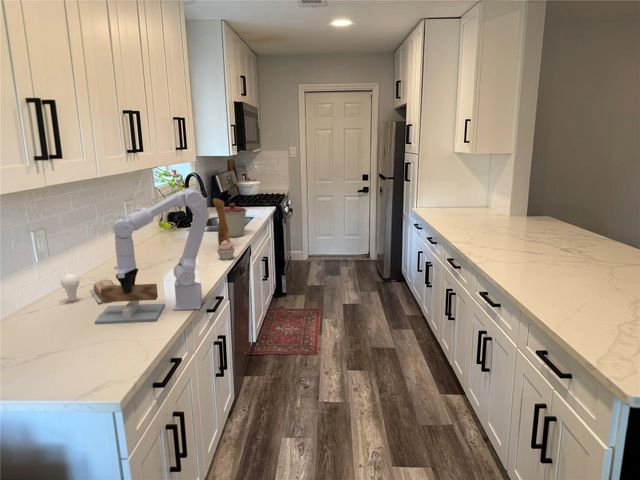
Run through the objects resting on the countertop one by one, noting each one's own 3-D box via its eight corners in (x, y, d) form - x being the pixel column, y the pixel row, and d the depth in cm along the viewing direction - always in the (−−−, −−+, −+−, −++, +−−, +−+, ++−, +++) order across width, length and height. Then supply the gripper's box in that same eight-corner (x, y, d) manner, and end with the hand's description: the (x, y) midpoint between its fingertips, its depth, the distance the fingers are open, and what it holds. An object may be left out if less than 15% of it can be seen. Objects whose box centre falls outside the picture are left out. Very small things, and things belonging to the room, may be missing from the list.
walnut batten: (157, 296, 157) (156, 283, 156) (155, 300, 154) (154, 286, 153) (104, 299, 155) (103, 285, 153) (101, 302, 152) (100, 288, 150)
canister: (233, 240, 267) (232, 206, 262) (212, 236, 276) (211, 203, 271) (253, 235, 281) (252, 202, 277) (233, 231, 291) (231, 200, 286)
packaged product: (125, 288, 170) (97, 293, 164) (126, 300, 171) (98, 305, 165) (115, 276, 184) (88, 281, 178) (116, 287, 185) (90, 292, 179)
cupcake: (237, 256, 231) (236, 238, 229) (232, 261, 222) (231, 242, 220) (220, 256, 232) (219, 237, 230) (214, 261, 223) (213, 241, 221)
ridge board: (164, 305, 164) (164, 295, 163) (156, 321, 150) (155, 310, 149) (108, 308, 161) (107, 298, 160) (95, 324, 148) (93, 313, 147)
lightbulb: (78, 303, 165) (74, 276, 163) (61, 304, 164) (57, 277, 162) (84, 298, 171) (80, 271, 169) (67, 298, 170) (63, 272, 168)
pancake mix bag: (220, 251, 240) (217, 201, 234) (214, 244, 258) (212, 196, 251) (232, 250, 243) (230, 200, 236) (226, 243, 260) (224, 196, 254)
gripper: (119, 249, 157) (123, 284, 160) (106, 260, 143) (110, 299, 146) (140, 248, 158) (143, 284, 161) (128, 259, 144) (132, 298, 147)
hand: (129, 291), depth 154 cm, fingers closed on walnut batten, 3 cm apart
